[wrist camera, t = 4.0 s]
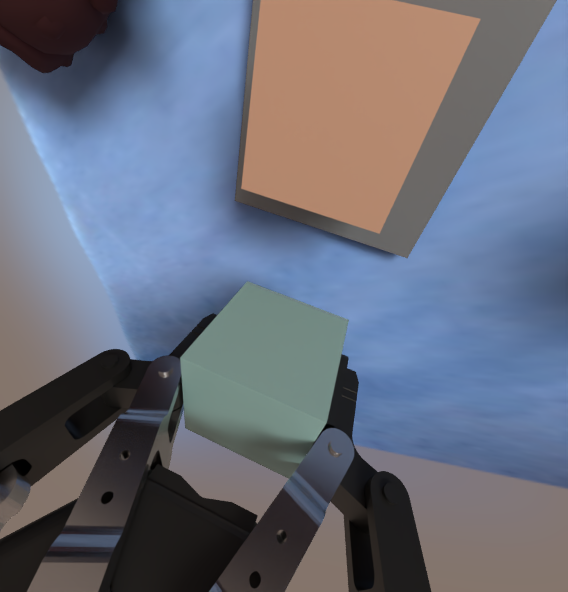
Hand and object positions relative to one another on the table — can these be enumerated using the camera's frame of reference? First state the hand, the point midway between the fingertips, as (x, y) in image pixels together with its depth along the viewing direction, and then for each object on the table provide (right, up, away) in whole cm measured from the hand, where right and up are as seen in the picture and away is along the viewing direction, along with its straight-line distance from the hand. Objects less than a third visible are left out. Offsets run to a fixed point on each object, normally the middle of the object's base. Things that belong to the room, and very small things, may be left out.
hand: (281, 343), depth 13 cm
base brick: (+3, +10, -2) cm, 11 cm away
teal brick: (0, 0, 0) cm, 1 cm away
